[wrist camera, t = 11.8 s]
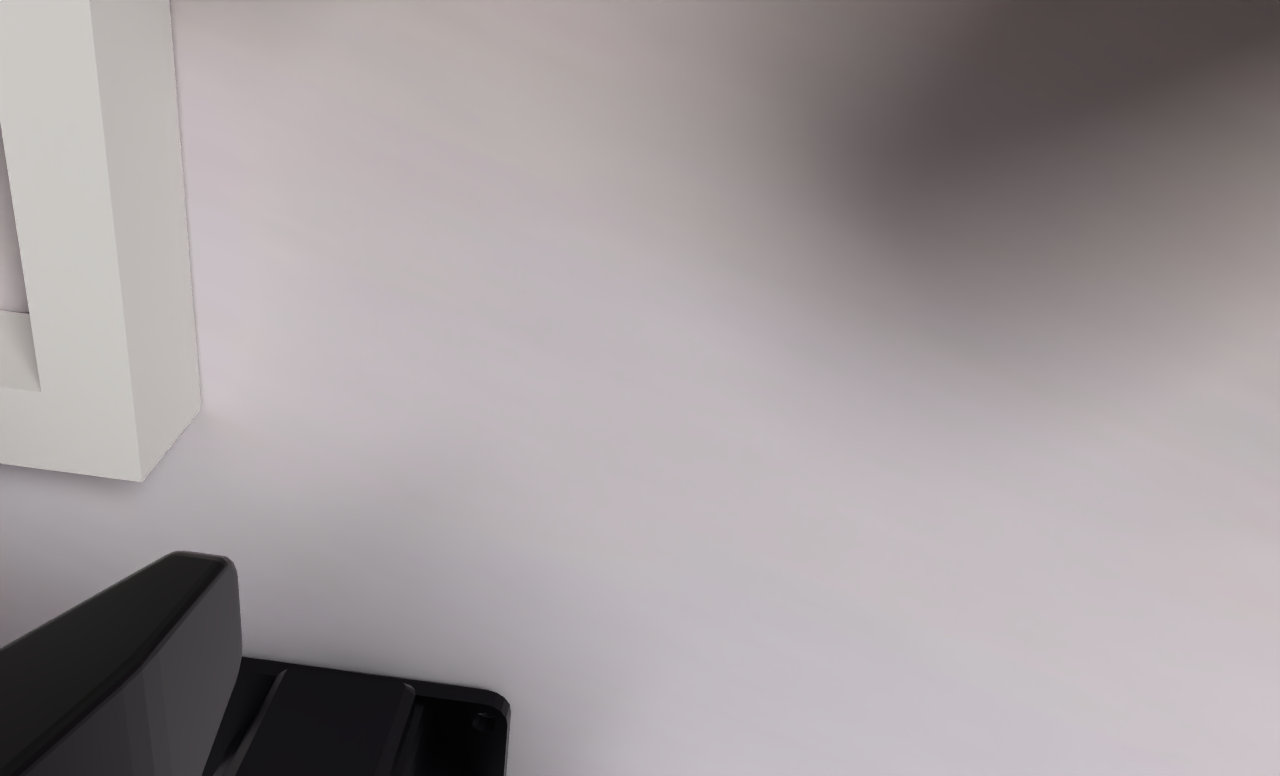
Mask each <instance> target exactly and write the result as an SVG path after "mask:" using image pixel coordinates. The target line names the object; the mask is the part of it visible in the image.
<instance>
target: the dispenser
mask: <svg viewBox="0 0 1280 776" xmlns="http://www.w3.org/2000/svg"><path fill="white" fill-rule="evenodd" d="M0 123H1V130H2V137H3V143H4V150H5V156H6V163H7V169H8V176H9V183H10V189H11V196H12V202H13V209H14V216H15V222H16V229H17V235H18V242H19V248H20V255H21V262H22V268H23V275H24V281H25V288H26V295H27V301H28V308H29V314H25V313H17V312H10V311H2V310H0V464H8V465H15V466H23V467H30V468H38V469H45V470H53V471H60V472H68V473H76V474H83V475H91V476H98V477H106V478H113V479H121V480H128V481H136V482H143V481H144V480H145V478H146V477H147V476H148V475H149V473H150V472H151V471H152V470H153V468H154V467H155V466H156V465H157V463H158V462H159V461H160V460H161V458H162V457H163V456H164V455H165V453H166V452H167V451H168V450H169V448H170V447H171V446H172V445H173V443H174V442H175V441H176V440H177V438H178V437H179V436H180V435H181V433H182V432H183V431H184V430H185V428H186V427H187V426H188V425H189V423H190V422H191V421H192V420H193V418H194V417H195V416H196V415H197V413H198V412H199V411H200V410H201V397H200V384H199V372H198V359H197V346H196V333H195V321H194V308H193V295H192V282H191V270H190V257H189V244H188V231H187V219H186V206H185V193H184V180H183V168H182V155H181V142H180V130H179V117H178V104H177V91H176V79H175V66H174V53H173V40H172V28H171V15H170V2H169V0H0Z"/></svg>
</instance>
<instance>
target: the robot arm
mask: <svg viewBox="0 0 1280 776" xmlns="http://www.w3.org/2000/svg"><path fill="white" fill-rule="evenodd" d="M478 713H486V714H489V715H491V716H492V717H490V718H486V717H483V716H480V715H479V714H478ZM510 717H511V710H510V704H509V703H508V702H507V700H506V699H505V698H504V697H503V696H501V695H500V694H498V693H495V692H492V691H489V690H482V689H474V688H467V687H459V686H452V685H444V684H437V683H430V682H422V681H415V680H407V679H400V678H392V677H385V676H378V675H370V674H363V673H355V672H348V671H341V670H333V669H326V668H318V667H311V666H303V665H296V664H289V663H281V662H274V661H266V660H259V659H251V658H244V657H242V633H241V618H240V603H239V588H238V575H237V571H236V568H235V565H234V563H233V562H232V561H231V560H230V559H229V558H227V557H225V556H220V555H213V554H205V553H198V552H191V551H175V552H172V553H169V554H167V555H165V556H163V557H162V558H160V559H158V560H156V561H154V562H153V563H151V564H149V565H147V566H146V567H144V568H142V569H140V570H139V571H137V572H135V573H133V574H131V575H130V576H128V577H126V578H124V579H123V580H121V581H119V582H117V583H116V584H114V585H112V586H110V587H108V588H107V589H105V590H103V591H101V592H100V593H98V594H96V595H94V596H93V597H91V598H89V599H87V600H85V601H84V602H82V603H80V604H78V605H77V606H75V607H73V608H71V609H70V610H68V611H66V612H64V613H62V614H61V615H59V616H57V617H55V618H54V619H52V620H50V621H48V622H47V623H45V624H43V625H41V626H39V627H38V628H36V629H34V630H32V631H31V632H29V633H27V634H25V635H24V636H22V637H20V638H18V639H16V640H15V641H13V642H11V643H9V644H8V645H6V646H4V647H2V648H0V776H506V769H507V756H508V743H509V730H510Z"/></svg>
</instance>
